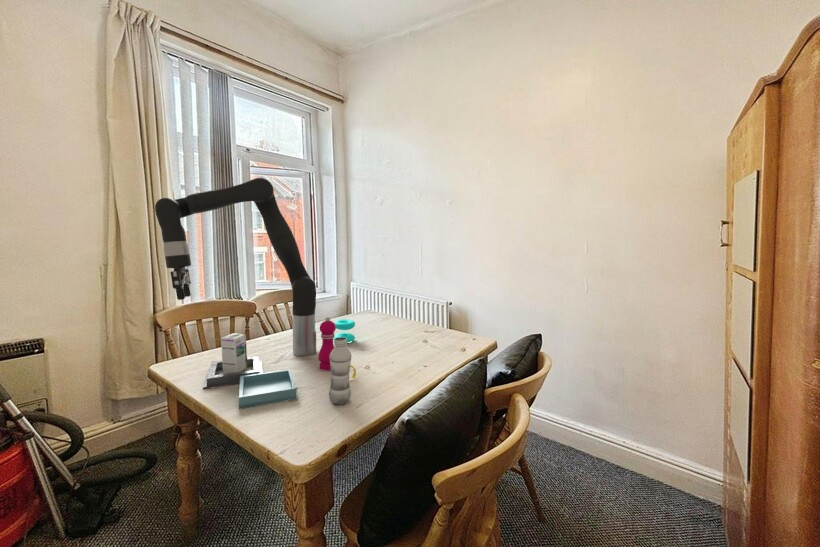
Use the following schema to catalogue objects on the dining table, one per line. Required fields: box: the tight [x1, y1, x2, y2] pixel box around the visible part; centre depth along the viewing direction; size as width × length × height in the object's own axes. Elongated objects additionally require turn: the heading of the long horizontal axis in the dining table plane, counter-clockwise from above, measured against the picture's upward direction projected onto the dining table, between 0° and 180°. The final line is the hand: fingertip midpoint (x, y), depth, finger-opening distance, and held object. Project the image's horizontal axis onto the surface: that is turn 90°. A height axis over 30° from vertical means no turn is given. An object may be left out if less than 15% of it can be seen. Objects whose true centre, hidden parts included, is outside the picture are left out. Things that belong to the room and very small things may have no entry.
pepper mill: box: [317, 316, 337, 371], centre depth 128 cm, size 7×7×20 cm
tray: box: [238, 368, 298, 410], centre depth 107 cm, size 16×16×4 cm
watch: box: [350, 363, 357, 379], centre depth 118 cm, size 6×3×6 cm, turn 119°
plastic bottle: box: [328, 337, 353, 405], centre depth 102 cm, size 6×7×20 cm
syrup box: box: [220, 332, 248, 374], centre depth 119 cm, size 6×6×14 cm
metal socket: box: [202, 355, 264, 389], centre depth 120 cm, size 18×18×3 cm
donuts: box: [333, 318, 356, 342], centre depth 160 cm, size 10×10×10 cm
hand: (184, 297), depth 123 cm, fingers open, 8 cm apart
